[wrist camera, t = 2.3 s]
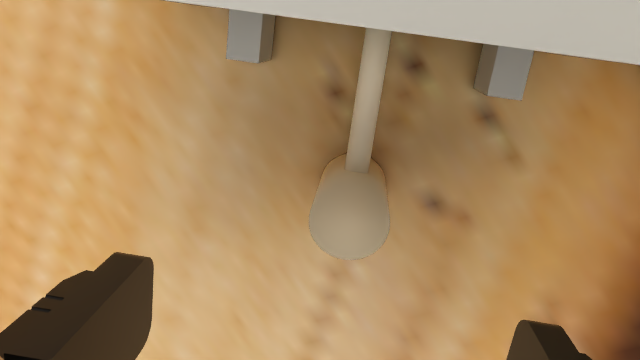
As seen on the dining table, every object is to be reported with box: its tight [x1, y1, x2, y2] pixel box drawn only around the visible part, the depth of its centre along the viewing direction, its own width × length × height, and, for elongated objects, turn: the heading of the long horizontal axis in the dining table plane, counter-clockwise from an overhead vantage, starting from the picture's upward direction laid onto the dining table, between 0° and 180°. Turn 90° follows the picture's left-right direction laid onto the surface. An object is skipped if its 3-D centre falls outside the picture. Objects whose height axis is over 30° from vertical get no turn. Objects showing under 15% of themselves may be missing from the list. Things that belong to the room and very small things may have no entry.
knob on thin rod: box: [309, 28, 392, 260], centre depth 16 cm, size 6×17×6 cm, turn 173°
